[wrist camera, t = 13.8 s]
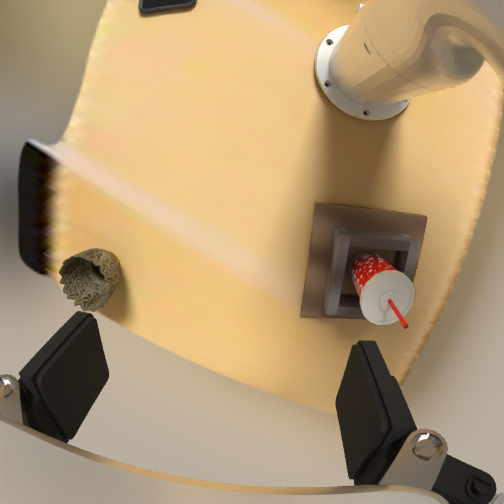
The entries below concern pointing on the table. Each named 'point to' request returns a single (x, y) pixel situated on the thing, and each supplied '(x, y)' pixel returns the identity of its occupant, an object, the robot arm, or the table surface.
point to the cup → (90, 278)
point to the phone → (164, 5)
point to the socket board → (347, 246)
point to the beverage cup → (381, 289)
